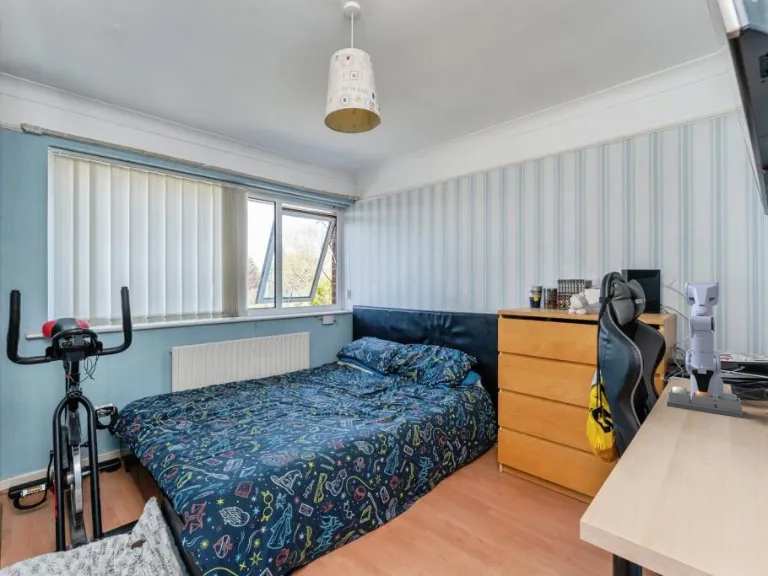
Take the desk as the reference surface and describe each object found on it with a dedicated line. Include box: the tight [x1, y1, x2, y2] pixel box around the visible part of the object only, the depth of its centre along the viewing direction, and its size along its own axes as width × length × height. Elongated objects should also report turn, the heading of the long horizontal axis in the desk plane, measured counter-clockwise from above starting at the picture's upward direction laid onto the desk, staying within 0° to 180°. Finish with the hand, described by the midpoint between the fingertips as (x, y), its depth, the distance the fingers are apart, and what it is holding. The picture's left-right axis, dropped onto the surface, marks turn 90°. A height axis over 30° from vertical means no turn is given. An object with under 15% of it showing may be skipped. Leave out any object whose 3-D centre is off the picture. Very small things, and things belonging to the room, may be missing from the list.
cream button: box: [671, 386, 688, 394], centre depth 128 cm, size 4×4×3 cm
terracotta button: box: [695, 390, 711, 398], centre depth 124 cm, size 4×4×3 cm
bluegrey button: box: [720, 392, 738, 401], centre depth 120 cm, size 4×4×3 cm
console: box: [666, 388, 744, 419], centre depth 124 cm, size 19×9×4 cm, turn 48°
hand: (703, 391), depth 124 cm, fingers closed, pressing on terracotta button
